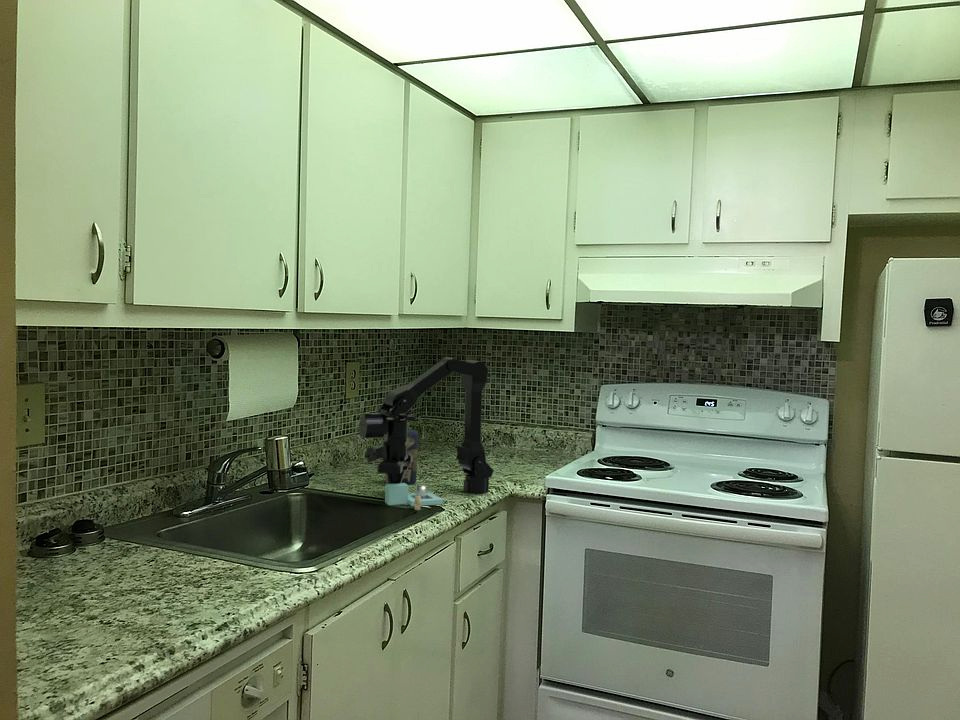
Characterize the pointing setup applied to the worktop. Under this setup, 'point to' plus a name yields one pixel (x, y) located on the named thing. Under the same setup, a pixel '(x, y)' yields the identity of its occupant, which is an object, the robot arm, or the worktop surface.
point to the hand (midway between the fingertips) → (394, 493)
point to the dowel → (417, 503)
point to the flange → (407, 496)
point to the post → (421, 491)
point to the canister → (412, 467)
